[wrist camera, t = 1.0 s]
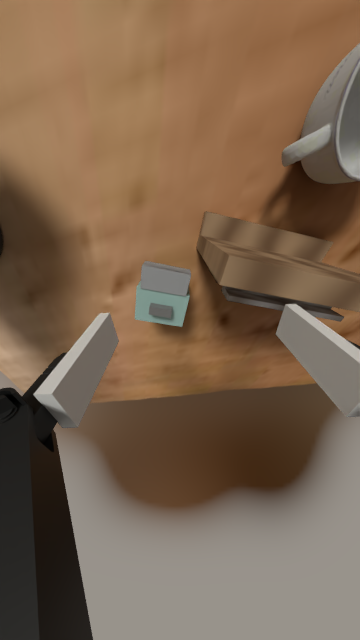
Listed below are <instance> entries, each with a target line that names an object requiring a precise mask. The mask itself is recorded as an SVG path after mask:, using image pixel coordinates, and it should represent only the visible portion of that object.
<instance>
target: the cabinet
mask: <svg viewBox="0 0 360 640" xmlns="http://www.w3.org/2000/svg"><path fill="white" fill-rule="evenodd" d="M190 277H191V273H190V270H189V269H184V268H179V267H174V266H169V265H164V264H159V263H154V262H149V261H145V262H144V264H143V265H142V272H141V281H140V283H139V284H138V286H137V292H136V308H135V319H136V320H142V321H148V322H155V323H161V324H167V325H173V326H179V327H182V325H183V321H184V317H185V313H186V309H187V305H188V301H189V297H190V296H189V288H188V286H189V282H190Z"/></svg>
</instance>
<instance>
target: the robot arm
mask: <svg viewBox="0 0 360 640" xmlns="http://www.w3.org/2000/svg"><path fill="white" fill-rule="evenodd" d="M2 247H3V241H2V234H1V230H0V255H1V252H2ZM276 335H277V336H278V338H279V339H280V340H281V341H282V342H283V343H284V345H285V346H286V347H287V348H288V349H289V350H290V352H291V353H292V354H293V355H294V356H295V358H296V359H297V360H298V361H299V362H300V363H301V365H302V366H303V367H304V368H305V369H306V370H307V372H308V373H309V374H310V375H311V376H312V378H313V379H314V380H315V381H316V382H317V383H318V384H319V386H320V387H321V388H322V389H323V390H324V392H325V393H326V394H327V395H328V396H329V397H330V399H331V400H332V401H333V402H334V403H335V405H336V406H337V407H338V408H339V409H340V410H341V412H342V413H343V414H344V415H345V416H346V417H356V416H360V346H358V345H356V344H354V343H352V342H350V341H348V340H345V339H344V338H343V337H341V336H340V335H338V334H337V333H336V332H334V331H333V330H332V329H330V328H329V327H327V326H326V325H325V324H323V323H322V322H320V321H319V320H318V319H316V318H315V317H313V316H312V315H311V314H309V313H308V312H306V311H305V310H304V309H302V308H301V307H300V306H298V305H297V304H285V307H284V310H283V313H282V316H281V319H280V322H279V325H278V328H277V331H276ZM118 342H119V340H118V337H117V334H116V331H115V328H114V324H113V321H112V318H111V315H110V313H100V314H99V315H98V316H97V317H96V318H95V320H94V321H93V322H92V323H91V325H90V326H89V327H88V328H87V329H86V331H85V332H84V333H83V334H82V336H81V337H80V338H79V339H78V340H77V342H76V343H75V344H74V345H73V347H72V348H71V349H70V350H69V351H68V353H63V354H61V355H60V356H58V357H57V358H56V359H54V360H53V362H52V363H51V364H50V365H49V366H48V368H47V369H46V370H45V371H44V372H43V374H41V375H40V377H39V378H38V379H37V380H36V381H35V382H34V383H33V385H32V386H31V387H30V388H29V389H28V390H27V391H26V393H25V394H24V395H23V396H21V395H20V394H19V393H18V392H17V391H16V390H15V389H13V388H3V389H0V640H93V637H92V632H91V627H90V621H89V615H88V610H87V604H86V599H85V593H84V588H83V582H82V577H81V571H80V566H79V561H78V555H77V549H76V544H75V538H74V533H73V527H72V522H71V516H70V511H69V505H68V500H67V494H66V489H65V483H64V478H63V472H62V467H61V462H60V456H59V450H58V445H57V439H56V434H55V432H54V430H53V428H54V427H55V425H56V423H57V422H58V423H59V425H61V427H62V428H75V427H78V426H79V424H80V422H81V419H82V418H83V416H84V413H85V411H86V409H87V407H88V405H89V403H90V401H91V399H92V397H93V395H94V392H95V390H96V388H97V386H98V384H99V382H100V380H101V378H102V376H103V374H104V371H105V369H106V367H107V365H108V363H109V361H110V359H111V357H112V355H113V353H114V350H115V348H116V346H117V344H118Z"/></svg>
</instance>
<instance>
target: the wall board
mask: <svg viewBox="0 0 360 640" xmlns="http://www.w3.org/2000/svg"><path fill="white" fill-rule="evenodd" d="M332 244H333V242H331V241H327V240H323V239H318V238H314V237H310V236H306V235H302V234H298V233H294V232H289V231H285V230H281V229H277V228H273V227H269V226H265V225H261V224H256V223H252V222H248V221H244V220H240V219H236V218H232V217H227V216H223V215H219V214H215V213H211V212H207V211H206V212H205V213H204V217H203V221H202V226H201V230H200V234H199V239H198V243H197V247H196V248H197V250H198V251H199V253H200V254H201V256H202V258H203V259H204V261H205V262H206V264H207V266H208V267H209V271H210V272H211V274H212V276H213V277H214V279H215V281H216V282H217V283H219V285H222V286H223V287H222V290H221V291H222V292H223V294H224V296H225V297H226V299H227V301H232V302H238V303H243V304H249V305H254V306H260V307H265V308H270V309H276V310H281V311H283V310H284V307H285V304H297V305H298V306H300V307H301V308H302V309H304V310H305V311H306V312H308V313H309V314H311V315H312V316H314V317H319V318H325V319H330V320H336V321H341V320H342V319H343V318H344V317H343V316H342V315H340V314H338V313H336V312H335V311H333V310H331V308H332V307H336V308H341V309H346V310H351V311H356V312H360V274H358V273H355V272H352V271H348V270H345V269H342V268H338V267H335V266H332V265H328V264H325V263H322V262H321V261H322V260H323V258H324V257H325V255H326V253H327V252H328V250H329V249H330V247H331V246H332Z"/></svg>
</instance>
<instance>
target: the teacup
mask: <svg viewBox="0 0 360 640" xmlns="http://www.w3.org/2000/svg"><path fill="white" fill-rule="evenodd" d="M299 160H301V163H302V167H303V169H304V171H305V172H306V174H307V175H308V176H309V177H310V178H311V179H313V180H314V181H316V182H319V183H324V184H338V183H348V182H355V181H360V43H359V44H358V45H357V46H356V47H355V48H354V49H353V50H352V51H351V52H350V53H349V54H348V55H347V56H346V57H345V58H344V59H343V60H342V61H341V62H340V63H339V65H338V66H337V67H336V68H335V69H334V70H333V72H332V73H331V74H330V75H329V77H328V78H327V79H326V81H325V82H324V84H323V85H322V87H321V88H320V90H319V92H318V93H317V95H316V97H315V99H314V101H313V102H312V104H311V107H310V109H309V111H308V114H307V116H306V119H305V122H304V125H303V129H302V133H301V139H300V140H298V141H296V142H295V143H293V144H291V145H289V146H288V147H286V148H285V149H284V150H283V152H282V164H283V166H284V167H286V166H288V165H290V164H293V163H295V162H297V161H299Z"/></svg>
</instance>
